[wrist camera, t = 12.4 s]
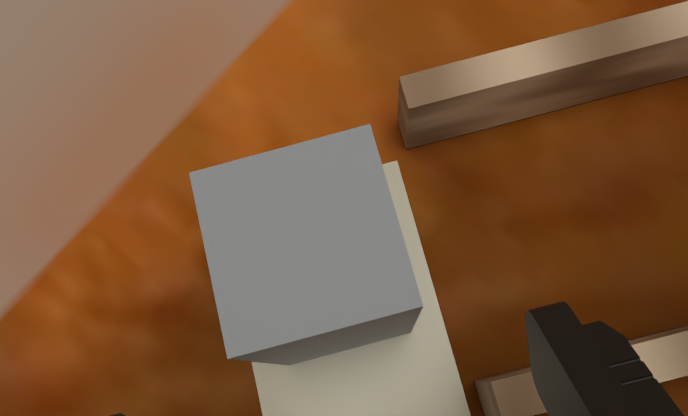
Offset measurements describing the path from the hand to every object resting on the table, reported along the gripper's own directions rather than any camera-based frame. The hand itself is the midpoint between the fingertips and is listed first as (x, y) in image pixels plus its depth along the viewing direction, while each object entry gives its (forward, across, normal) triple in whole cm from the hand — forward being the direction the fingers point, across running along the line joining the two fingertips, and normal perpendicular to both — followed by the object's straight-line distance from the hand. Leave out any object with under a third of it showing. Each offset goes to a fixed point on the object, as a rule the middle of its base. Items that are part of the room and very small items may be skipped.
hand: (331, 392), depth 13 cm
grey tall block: (+10, 0, +5) cm, 11 cm away
